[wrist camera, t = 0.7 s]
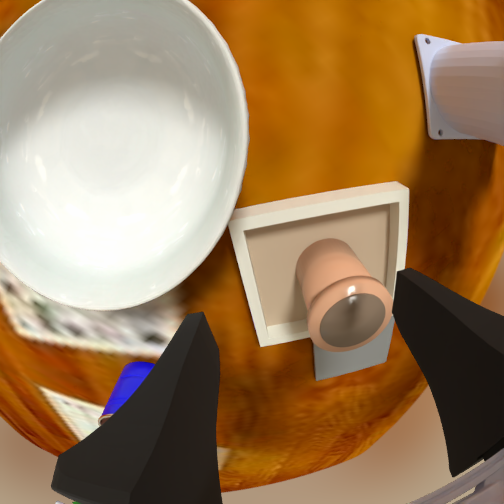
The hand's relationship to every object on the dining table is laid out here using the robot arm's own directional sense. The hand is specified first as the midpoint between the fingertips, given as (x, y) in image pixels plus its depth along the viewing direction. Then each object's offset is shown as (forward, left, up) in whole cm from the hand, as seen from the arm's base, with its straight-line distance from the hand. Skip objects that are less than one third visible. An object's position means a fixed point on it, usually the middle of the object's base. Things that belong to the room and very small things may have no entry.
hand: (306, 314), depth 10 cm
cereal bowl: (+9, -8, -10) cm, 16 cm away
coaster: (-6, +15, -10) cm, 19 cm away
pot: (-3, +5, -10) cm, 11 cm away
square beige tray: (-3, +5, -10) cm, 11 cm away
